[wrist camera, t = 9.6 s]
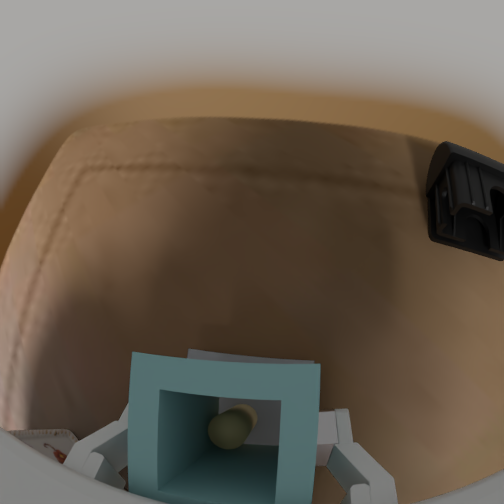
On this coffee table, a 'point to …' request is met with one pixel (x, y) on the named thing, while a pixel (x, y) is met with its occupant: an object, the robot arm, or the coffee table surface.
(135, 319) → the coffee table surface
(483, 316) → the coffee table surface
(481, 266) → the coffee table surface
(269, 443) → the shaft block
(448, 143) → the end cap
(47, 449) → the decorative jar
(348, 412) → the robot arm
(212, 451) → the collar
